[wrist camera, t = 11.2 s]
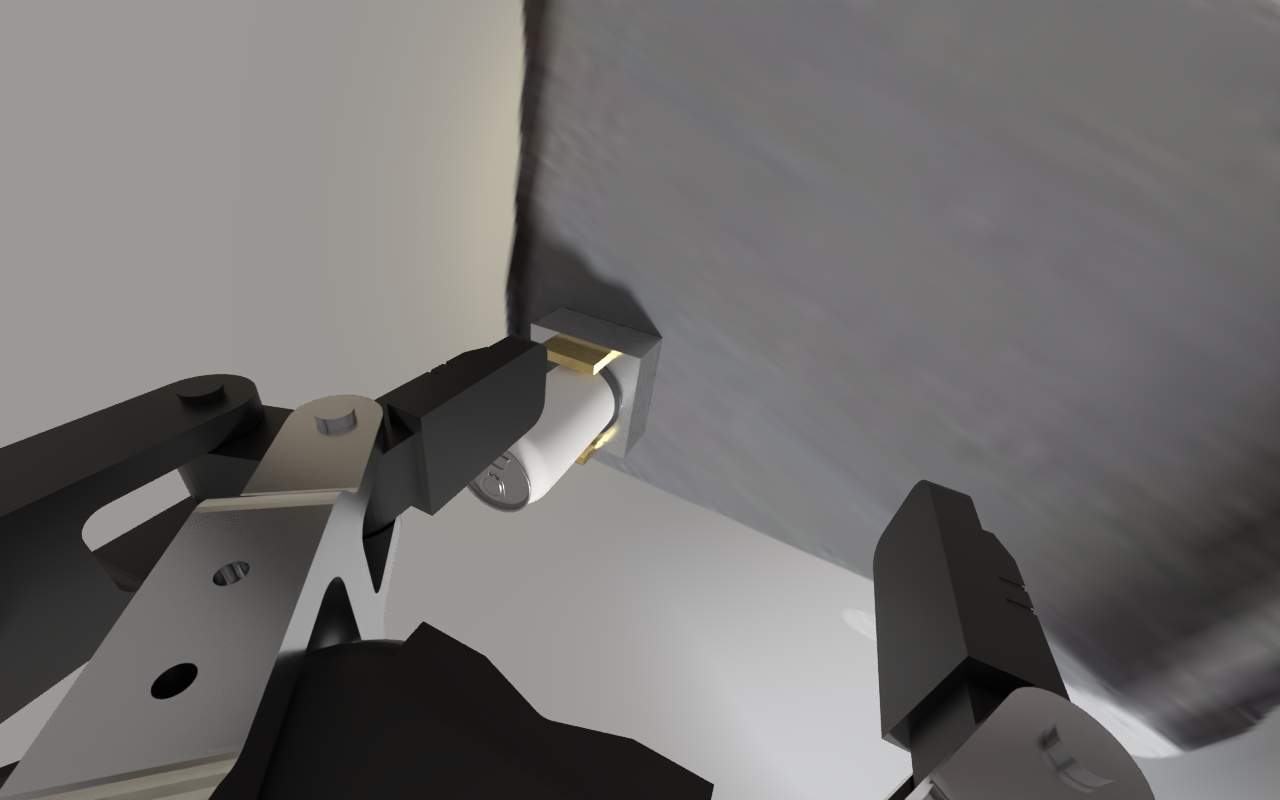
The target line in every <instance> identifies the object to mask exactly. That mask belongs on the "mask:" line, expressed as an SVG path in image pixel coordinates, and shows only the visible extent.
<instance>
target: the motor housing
mask: <svg viewBox="0 0 1280 800" xmlns="http://www.w3.org/2000/svg"><path fill="white" fill-rule="evenodd" d="M529 339H530V340H532V341H535V342H538V343H541V344H543V345H545V346H546V348H547V353H548V358H547V373H548V372H550V371H551V370H553V369H554V368H556V367H557V366H559V365H564V366H567V367H570V368H573V369H576V370H579V371H582V372H585V373H588V374H591V375H594V374H596V373H597V372H598V373H599V374H600V375H601V376H602V377H603V378H604V379H605V380H606V382H607V383H608V385H609V387H610V389H611V391H612V394H613V397H614V404H615V407H614V413H613V416H612V418H611V420H610V421H609V423H608V424H607V425H606V426H605V428H604V429H603V430H602V431H601V432H600V433H599V434H598V436H597V437H596V438H595V439H594V440H593V441H592V442H591V444H590V445H589V446H588V447H587V448H586V449H585V450H584V451H583V453H582V454H581V455H580V456H579V457H578V458H577V459H576V460H575V462H576V463H578V464H580V465H584V464H585V463H586V462H587V461H588V460H589V458H590V457H591V456H592V455H593V454H594V453H595V451H596V450H597V449H600V450H603V451H605V452H608V453H610V454H613V455H616V456H618V457H621V458H623V459H624V458H625V457H626V455H627V454H628V452H629V451H630V450H631V448H632V447H633V446H634V444H635V443H636V442H637V440H638V439H639V438H640V436H641V435H642V434H643V432H644V431H645V426H646V421H647V416H648V411H649V405H650V400H651V395H652V390H653V385H654V379H655V374H656V369H657V364H658V359H659V354H660V348H661V343H662V338H661V337H657V336H654V335H651V334H648V333H644V332H641V331H638V330H634V329H631V328H628V327H625V326H621V325H618V324H615V323H612V322H608V321H605V320H602V319H599V318H595V317H592V316H589V315H586V314H582V313H579V312H576V311H572V310H569V309H566V308H563V307H562V308H560V309H558V310H556V311H554V312H552V313H550V314H548V315H546V316H544V317H542V318H541V319H539V320H537V321H535V322H533V323H531V338H529Z"/></svg>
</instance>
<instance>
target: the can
mask: <svg viewBox="0 0 1280 800" xmlns="http://www.w3.org/2000/svg"><path fill="white" fill-rule="evenodd" d="M614 407H615V404H614V397H613V394H612V391H611V389H610V387H609V385H608V383H607V382H606V380H605V379H604V378H603V377H602V376H601V375H600V374H599V373H598V372H597V373H596V374H594V375H591V374H588V373H585V372H582V371H579V370H576V369H573V368H570V367H567V366H564V365H559V366H557V367H556V368H554V369H553V370H551V371H550V372H548V373H547V375H546V391H545V404H544V409H543V412H542V414H541V416H540V418H539V420H538V422H537V423H536V424H535V426H534V427H533V428H532V429H530V430H529V431H528V432H527V433H526V434H525V435H524V436H522V437H521V438H520V439H519V440H518V441H517V442H516V443H515V444H513V445H512V446H511V447H510V448H509V449H508V450H507V451H505V452H504V453H503V454H502V455H501V456H500V457H499V458H498V459H496V460H495V461H494V462H493V463H492V464H491V465H490V466H488V467H487V468H486V469H485V470H484V471H483V472H482V473H481V474H479V475H478V476H477V477H476V478H475V479H474V480H473V481H471V482H470V483H469V484H468V485H467V488H468V489H469V490H470V491H471V492H472V493H473V494H474V495H475V496H476V497H477V498H478V499H479V500H480V501H482V502H483V503H484V504H486V505H488V506H489V507H491V508H493V509H496V510H499V511H502V512H517V511H520V510H521V509H523V508H524V507H525V506H526V505H527V504H528V503H531V502H534V501H536V500H538V499H540V498H541V497H542V496H543V495H544V494H545V493H546V492H547V491H548V490H549V489H550V488H551V487H552V486H553V485H554V484H555V483H556V482H557V480H558V479H559V478H560V477H561V476H562V475H563V474H564V473H565V472H566V471H567V469H568V468H569V467H570V466H571V465H572V464H573V463H574V462H575V460H576V459H577V458H578V457H579V456H580V455H581V454H582V453H583V451H584V450H585V449H586V448H587V447H588V446H589V445H590V444H591V442H592V441H593V440H594V439H595V438H596V437H597V436H598V434H599V433H600V432H601V431H602V430H603V429H604V428H605V426H606V425H607V424H608V423H609V421H610V420H611V418H612V416H613V413H614Z"/></svg>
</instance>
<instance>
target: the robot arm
mask: <svg viewBox="0 0 1280 800" xmlns="http://www.w3.org/2000/svg"><path fill="white" fill-rule="evenodd" d="M547 358H548V353H547V348H546V346H545V345H543V344H541V343H538V342H535V341H532V340H530V339H527V338H524V337H521V336H518V335H515V334H513V335H510V336H508V337H506V338H504V339H502V340H500V341H499V342H497V343H495V344H493V345H491V346H490V347H484V348H480V349H476V350H472V351H468V352H464V353H462V354H460V355H458V356H456V357H454V358H453V359H451V360H449V361H447V362H446V364H441V365H439V366H438V367H436V368H434V369H432V370H431V372H430V373H429V372H427V373H424V374H423V375H421V376H419V377H417V378H415V379H413V380H411V381H409V382H407V383H406V384H404V385H402V386H400V387H398V388H396V389H394V390H392V391H391V392H389V393H387V394H385V395H383V396H381V397H380V398H377V399H376V400H372V399H370V398H367V397H363V396H356V395H336V396H329V397H324V398H321V399H317V400H314V401H311V402H309V403H306V404H304V405H302V406H300V407H299V408H298V409H296V410H292V409H285V408H279V407H272V406H266V405H262V403H261V400H260V397H259V394H258V391H257V388H256V386H255V384H254V382H252V381H251V380H249V379H247V378H245V377H242V376H237V375H228V374H214V375H204V376H197V377H193V378H188V379H184V380H181V381H178V382H175V383H172V384H169V385H166V386H164V387H161V388H159V389H156V390H153V391H151V392H148V393H145V394H143V395H140V396H137V397H135V398H132V399H129V400H127V401H124V402H122V403H119V404H116V405H113V406H111V407H108V408H106V409H103V410H100V411H98V412H95V413H92V414H90V415H87V416H85V417H82V418H79V419H76V420H74V421H71V422H69V423H66V424H63V425H61V426H58V427H55V428H53V429H50V430H47V431H45V432H42V433H39V434H37V435H34V436H32V437H29V438H26V439H24V440H21V441H19V442H16V443H13V444H10V445H8V446H5V447H3V448H0V724H1V723H2V722H4V721H5V720H6V719H8V718H9V717H11V716H12V715H13V714H15V713H16V712H18V711H19V710H20V709H22V708H23V707H25V706H26V705H27V704H29V703H30V702H32V701H33V700H34V699H36V698H37V697H38V696H40V695H41V694H43V693H44V692H46V691H47V690H48V689H50V688H51V687H52V686H54V685H55V684H57V683H58V682H59V681H61V680H62V679H64V678H65V677H67V676H68V675H69V674H71V673H72V672H73V671H75V670H76V669H77V668H79V667H80V666H82V665H83V664H85V663H86V662H87V661H89V660H90V661H89V662H88V664H87V665H86V667H85V668H84V669H83V671H82V673H81V674H80V675H79V677H78V678H77V680H76V681H75V682H74V684H73V685H72V687H71V688H70V690H69V691H68V693H67V694H66V695H65V697H64V698H63V700H62V701H61V703H60V704H59V706H58V707H57V709H56V710H55V711H54V713H53V714H52V716H51V717H50V719H49V720H48V721H47V723H46V725H45V726H44V727H43V729H42V730H41V732H40V733H39V735H38V736H37V737H36V739H35V740H34V742H33V743H32V745H31V746H30V747H29V749H28V750H27V752H26V753H25V755H24V756H23V758H22V759H21V760H20V761H17V762H14V763H12V764H9V765H6V766H4V767H1V768H0V800H711V797H712V792H713V787H714V784H712V783H710V782H708V781H707V780H705V779H703V778H701V777H699V776H698V775H696V774H694V773H692V772H690V771H689V770H687V769H685V768H683V767H682V766H680V765H678V764H676V763H675V762H673V761H671V760H669V759H667V758H666V757H664V756H662V755H660V754H659V753H657V752H655V751H653V750H651V749H649V748H648V747H646V746H644V745H642V744H641V743H639V742H637V741H635V740H634V739H630V738H626V737H621V736H617V735H613V734H608V733H603V732H599V731H595V730H590V729H586V728H582V727H577V726H573V725H568V724H564V723H559V722H554V721H551V720H548V719H546V718H544V717H543V716H541V715H540V714H539V713H538V712H536V710H535V709H534V708H533V707H532V706H531V705H530V704H529V703H528V702H527V701H526V700H525V698H524V697H523V696H522V695H521V694H520V693H519V692H518V691H517V690H516V689H515V688H514V686H513V685H512V684H511V683H510V682H509V681H508V680H507V679H506V678H505V677H504V676H503V675H502V674H501V672H500V671H499V670H498V669H497V668H496V667H495V666H494V665H493V664H492V663H491V662H490V661H489V660H488V658H487V657H486V656H484V655H482V654H480V653H479V652H477V651H475V650H473V649H471V648H470V647H468V646H466V645H465V644H462V643H461V642H459V641H457V640H456V639H454V638H452V637H450V636H449V635H447V634H445V633H443V632H441V631H440V630H438V629H436V628H434V627H432V626H431V625H429V624H427V623H425V622H422V623H421V624H420V625H419V626H418V628H417V629H416V630H415V631H414V632H413V633H412V634H411V635H410V636H409V638H408V639H407V640H406V641H402V640H388V639H384V610H385V603H386V598H387V593H388V588H389V584H390V579H391V574H392V569H393V564H394V559H395V554H396V550H397V545H398V540H399V534H400V530H401V525H402V520H401V513H403V512H404V511H405V510H406V509H407V508H409V507H410V506H413V507H416V508H417V509H419V510H421V511H424V512H425V513H427V514H430V515H432V516H433V515H434V514H435V513H436V512H437V511H438V510H440V509H441V508H442V507H443V506H444V505H445V504H446V503H448V502H449V501H450V500H451V499H452V498H453V497H454V496H456V495H457V494H458V493H459V492H460V491H461V490H462V489H463V488H465V487H466V486H467V485H468V484H469V483H470V482H471V481H473V480H474V479H475V478H476V477H477V476H478V475H479V474H481V473H482V472H483V471H484V470H485V469H486V468H487V467H488V466H490V465H491V464H492V463H493V462H494V461H495V460H496V459H498V458H499V457H500V456H501V455H502V454H503V453H504V452H505V451H507V450H508V449H509V448H510V447H511V446H512V445H513V444H515V443H516V442H517V441H518V440H519V439H520V438H521V437H522V436H524V435H525V434H526V433H527V432H528V431H529V430H530V429H532V428H533V427H534V426H535V424H536V423H537V422H538V420H539V418H540V416H541V414H542V412H543V409H544V404H545V391H546V375H547ZM175 469H178V471H179V473H180V475H181V477H182V479H183V481H184V483H185V485H186V487H187V489H188V490H189V493H190V495H191V496H190V497H188V498H186V499H184V500H182V501H181V502H179V503H177V504H176V505H174V506H172V507H170V508H168V509H167V510H165V511H163V512H161V513H160V514H158V515H156V516H154V517H153V518H151V519H150V520H147V521H146V522H144V523H142V524H140V525H138V526H137V527H135V528H133V529H131V530H130V531H128V532H126V533H124V534H123V535H121V536H119V537H117V538H116V539H114V540H112V541H110V542H109V543H107V544H105V545H103V546H102V547H100V548H98V549H97V550H94V551H93V552H91V550H90V549H89V548H88V546H86V544H85V542H84V541H83V539H82V529H83V526H84V524H85V522H86V521H87V520H88V519H89V517H90V516H91V515H92V514H93V513H94V512H96V511H97V510H98V509H100V508H101V507H103V506H105V505H107V504H108V503H110V502H112V501H114V500H116V499H118V498H120V497H122V496H124V495H126V494H128V493H130V492H132V491H133V490H136V489H138V488H140V487H141V486H144V485H145V484H147V483H149V482H151V481H153V480H155V479H157V478H159V477H161V476H163V475H165V474H167V473H169V472H171V471H173V470H175ZM873 574H874V591H875V592H874V594H875V613H876V633H877V652H878V673H879V693H880V711H881V731H882V739H884V740H886V741H888V742H890V743H892V744H894V745H896V746H898V747H900V748H902V749H904V750H906V751H908V752H910V753H911V757H912V767H913V773H911V774H910V775H909V776H908V777H907V778H905V779H904V780H903V781H902V782H901V783H900V784H899V785H898V786H897V787H896V788H895V789H894V790H893V791H892V792H891V793H890V794H889V795H888V796H887V797H886V798H885V799H884V800H1155V798H1154V795H1153V793H1152V790H1151V788H1150V786H1149V783H1148V782H1147V780H1146V778H1145V776H1144V775H1143V773H1142V771H1141V770H1140V768H1139V767H1138V765H1137V764H1136V762H1135V761H1134V760H1133V758H1132V757H1131V756H1130V754H1129V753H1128V752H1127V751H1126V750H1125V748H1124V747H1123V746H1122V745H1121V744H1120V743H1119V742H1118V740H1117V739H1116V738H1115V737H1114V736H1113V735H1112V734H1111V733H1110V732H1109V731H1108V730H1107V729H1106V728H1104V727H1103V726H1102V725H1101V724H1100V723H1099V722H1098V721H1097V720H1095V719H1094V718H1093V717H1092V716H1090V715H1089V714H1088V713H1087V712H1085V711H1084V710H1082V709H1081V708H1079V707H1078V706H1077V705H1075V704H1073V703H1072V702H1071V701H1070V699H1069V696H1068V694H1067V691H1066V688H1065V686H1064V683H1063V681H1062V678H1061V676H1060V673H1059V671H1058V668H1057V666H1056V663H1055V661H1054V658H1053V655H1052V653H1051V650H1050V648H1049V645H1048V643H1047V640H1046V638H1045V635H1044V633H1043V630H1042V628H1041V625H1040V622H1039V620H1038V617H1037V615H1034V614H1033V611H1034V607H1033V605H1032V602H1031V600H1030V597H1029V595H1028V592H1025V591H1024V589H1025V584H1024V582H1023V579H1022V577H1021V574H1020V572H1019V569H1018V567H1017V564H1016V562H1015V560H1014V559H1013V557H1012V556H1011V555H1010V554H1009V552H1008V551H1007V550H1006V549H1005V547H1004V546H1003V545H1002V544H1001V543H1000V541H999V540H998V539H997V538H996V536H995V535H994V534H993V533H990V532H988V531H985V530H982V527H981V524H980V521H979V518H978V515H977V513H976V510H975V507H974V504H973V501H972V499H971V497H970V496H968V495H966V494H963V493H961V492H958V491H955V490H952V489H949V488H946V487H944V486H941V485H938V484H935V483H932V482H929V481H927V480H921V481H919V482H918V483H917V484H916V485H915V486H914V487H913V489H912V490H911V492H910V493H909V495H908V496H907V498H906V499H905V501H904V502H903V504H902V505H901V507H900V508H899V510H898V511H897V513H896V514H895V516H894V517H893V519H892V520H891V522H890V523H889V525H888V526H887V528H886V529H885V531H884V532H883V534H882V535H881V537H880V539H879V542H878V544H877V547H876V550H875V554H874V560H873Z"/></svg>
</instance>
